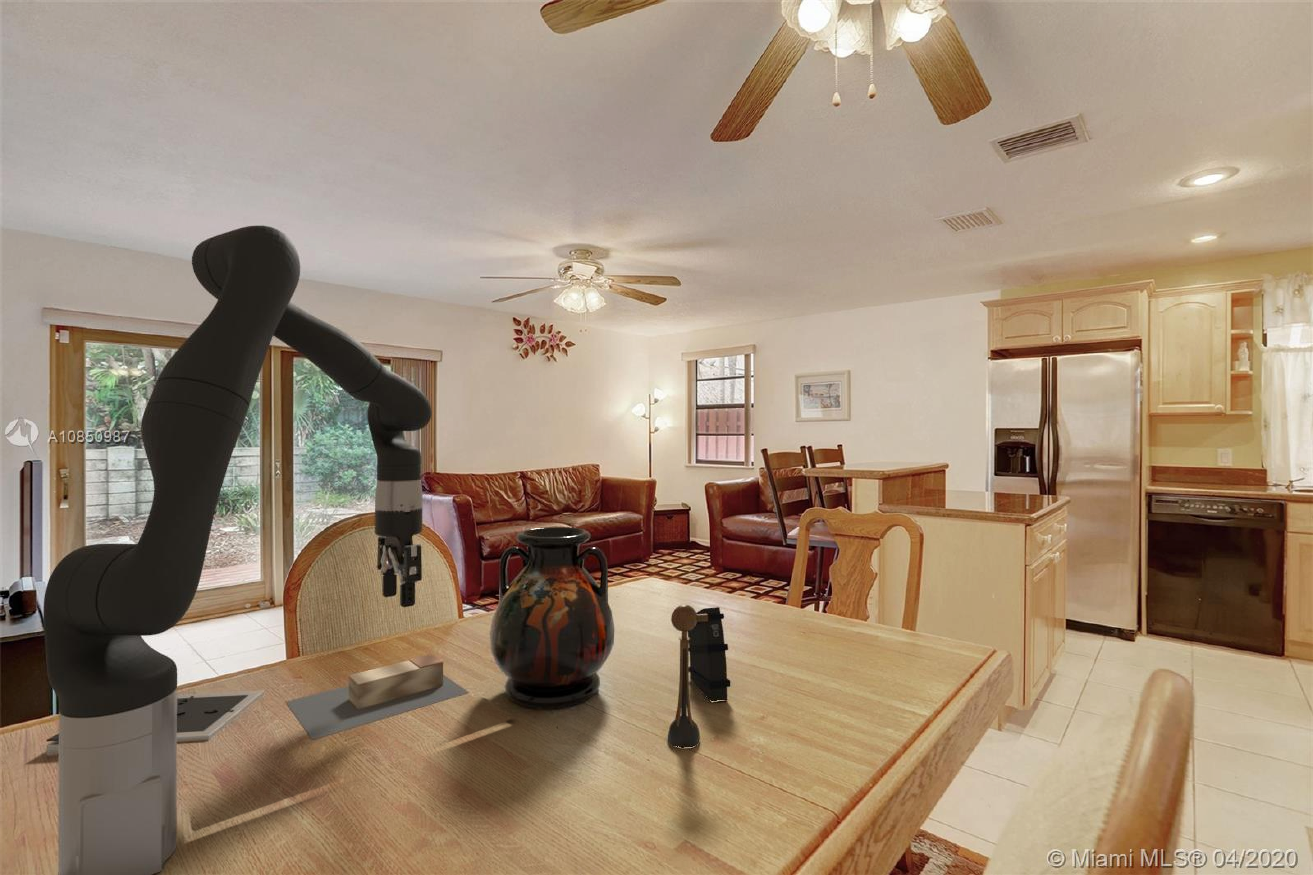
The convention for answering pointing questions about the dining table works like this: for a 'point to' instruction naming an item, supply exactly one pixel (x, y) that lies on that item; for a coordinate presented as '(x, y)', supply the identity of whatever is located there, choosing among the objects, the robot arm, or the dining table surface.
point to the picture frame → (199, 715)
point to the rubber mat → (341, 714)
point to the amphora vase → (552, 620)
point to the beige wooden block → (395, 681)
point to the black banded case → (709, 656)
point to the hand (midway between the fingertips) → (398, 601)
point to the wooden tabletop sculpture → (684, 681)
